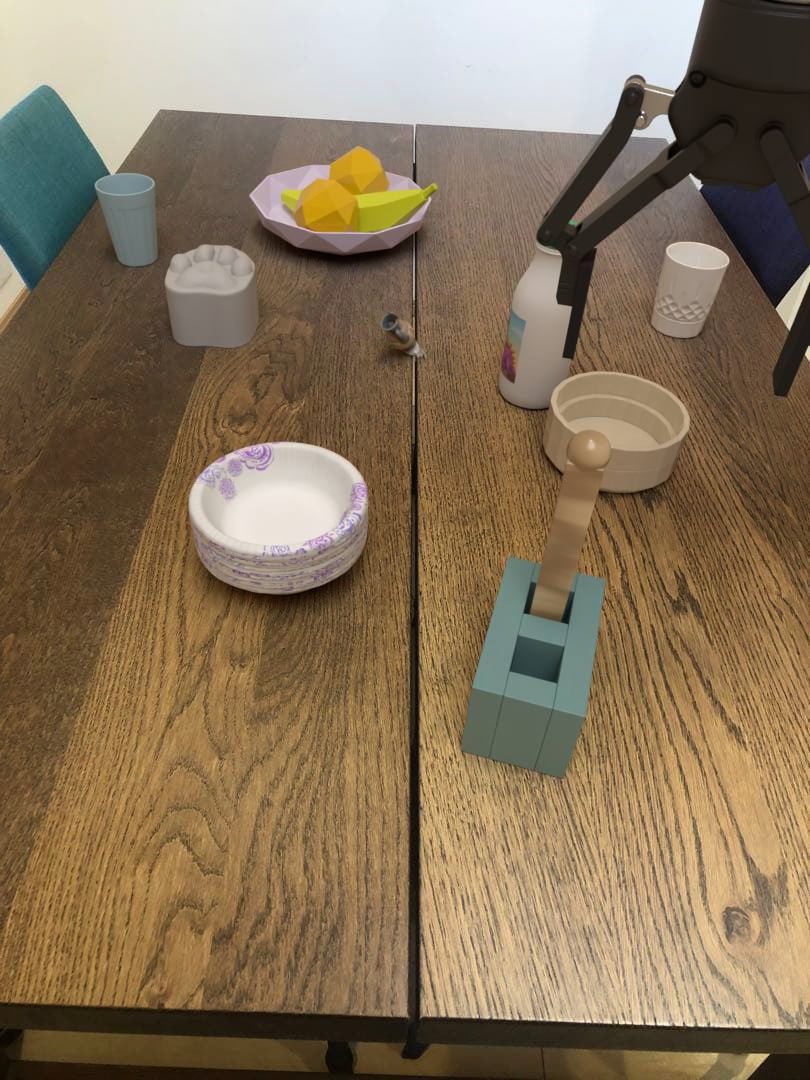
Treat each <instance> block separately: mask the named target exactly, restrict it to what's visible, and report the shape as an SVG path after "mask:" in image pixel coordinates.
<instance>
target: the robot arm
mask: <svg viewBox="0 0 810 1080" xmlns="http://www.w3.org/2000/svg"><path fill="white" fill-rule="evenodd" d="M685 72H686V73H685V74H684V77H683V79H682V80H681V82H680V83H679V84H678V86H677V87H676V89H670V88H669V89H668V88H666V87H665V88H664V87H661V86H657V85H654V84H653V85H652V84H650V83H647V81H646V78H644V76H642V75H640V74H633V75H630V76H629V77H628V78H626V81H625V82H624V84H623V87H622V91H621V94H620V97H619V101H618V104H617V107H616V110H615V113H614V116H613V118H612V119H611V120H610V122H609V123H608V124H607V126H606V127H605V129H604V130H603V131H602V133H601V134H600V136H599V137H598V139H597V140H596V141H595V143H594V144H593V146H592V147H591V148H590V150H589V151H588V152H587V154H586V155H585V157H584V159H583V160H582V161H581V162H580V164H579V165H578V167H577V168H576V170H575V171H574V172H573V174H572V175H571V177H570V178H569V179H568V181H567V183H566V184H565V185H564V187H563V188H562V190H561V191H560V192H559V194H558V195H557V196H556V198H555V199H554V200H553V202H552V204H551V205H550V206H549V208H548V209H547V211H546V212H545V213H544V215H543V217H542V219H541V220H540V223H541V224H540V223H539V225H540V226H539V225H538V227H539V229H538V228H537V232H536V237H535V238H536V241H538V243H539V244H540V245H543V246H551V247H553V248H555V249H556V250H558V251H559V252H560V254H561V256H562V265H561V271H560V276H559V282H558V288H557V293H556V299H557V304H559V305H565V306H571V307H572V310H571V315H570V320H569V325H568V330H567V335H566V340H565V345H564V350H563V355H562V358H567V359H571V360H574V359H575V354H576V351H577V345H578V342H579V338H580V332H581V327H582V323H583V319H584V314H585V309H586V305H587V299H588V295H589V289H590V285H591V282H592V281H591V280H592V275H593V271H594V266H595V261H596V257H597V252H598V248H597V246H598V245H599V244H601V243H602V242H603V241H604V240H605V239H607V238H609V236H611V235H612V234H613V233H614V232H615V231H617V230H618V229H619V228H621V227H622V226H623V225H625V223H627V222H628V221H629V220H631V219H632V218H633V217H634V216H635V215H637V214H638V213H639V212H640V211H642V210H643V209H644V208H645V207H647V206H648V205H649V204H651V203H652V202H653V201H654V200H655V199H657V198H658V197H659V196H661V195H662V194H664V193H665V191H667V190H668V191H669V190H671V189H673V188H674V187H675V186H677V185H678V184H679V183H681V182H682V181H683V180H684V179H686V178H687V177H688V176H690V175H692V176H693V177H694V178H695V179H696V180H698V181H700V185H701V186H702V185H703V186H710V187H720V186H721V187H722V186H729V185H731V186H733V187H735V188H738V189H739V190H742V191H747V192H752V193H753V192H754V193H759V191H760V190H762V189H765V188H768V187H771V186H774V185H775V184H776V185H777V187H778V189H779V191H780V193H781V196H782V198H783V200H784V202H785V204H786V206H787V207H788V209H789V211H790V213H791V216H792V217H793V219H794V221H795V224H796V226H797V229H798V230H799V232H800V235H801V237H802V239H803V241H804V243H805V246H806V248H807V249H808V252H809V253H810V180H809V178H808V174H807V172H806V170H805V166H804V165H803V161H805V160H806V158H808V157H809V156H810V0H703V5H702V8H701V13H700V16H699V21H698V24H697V28H696V31H695V37H694V41H693V44H692V47H691V53H690V57H689V61H688V64H687V68H686V71H685ZM662 115H664V116H665V115H666V116H667V120H668V123H669V126H670V128H671V131H672V133H673V135H674V138H675V140H673V141H672V142H671V143H670V144H669V145H667V146H666V147H665V148H664V149H663V150H661V152H660V153H659V154H658V155H656V158H655V159H654V160H652V161H651V162H650V163H649V164H647V166H645V167H644V168H643V169H642V170H640V171H639V172H638V173H637V174H636V175H635V176H634V177H632V178H631V179H629V180H628V181H627V182H626V183H624V185H623V186H621V187H620V188H619V189H617V190H616V191H615V192H614V193H612V195H610V197H608V198H607V199H606V200H605V201H603V202H602V203H601V204H600V205H599V206H597V207H596V208H595V209H594V210H593V211H590V213H589V214H587V216H585V217H584V218H583V219H582V220H581V221H579V222H577V223H578V224H577V225H576V226H575V225H574V224H573V225H571V224H569V221H570V220H571V221H572V219H573V218H574V216H575V215H576V214H577V212H578V211H579V210H580V208H581V207H582V206H583V204H584V203H585V201H586V200H587V198H588V197H589V196H590V194H592V192H593V190H594V189H595V188H596V187H597V185H598V184H599V182H600V181H601V180H602V178H603V177H604V176H605V174H606V173H607V172H608V170H609V169H610V167H611V166H612V165H613V164H614V162H615V161H616V160H617V158H618V157H619V155H620V154H621V153H622V151H623V150H624V148H625V147H626V145H627V144H628V142H629V140H630V138H631V136H632V135H633V132H634V130H636V131H644V130H646V129H647V128H648V127H650V125H651V124H652V122H653V120H654V119H655V118H657V117H658V116H662ZM809 347H810V281H809V282H808V284H807V287H806V289H805V292H804V295H803V297H802V299H801V302H800V305H799V307H798V309H797V312H796V314H795V316H794V318H793V321H792V323H791V326H790V328H789V331H788V333H787V336H786V339H785V341H784V343H783V346H782V348H781V350H780V353H779V355H778V358H777V360H776V363H775V364H774V368H773V370H772V373H771V375H772V377H771V378H772V387H773V396H774V397H781V398H787V397H788V395H789V392H790V390H791V388H792V386H793V383H794V381H795V378H796V377H797V373H798V371H799V370H800V367H801V365H802V363H803V360H804V359H805V355H806V353H807V351H808V349H809Z"/></svg>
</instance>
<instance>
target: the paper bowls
mask: <svg viewBox="0 0 810 1080" xmlns="http://www.w3.org/2000/svg"><path fill="white" fill-rule="evenodd" d="M368 492H369V491H368V487H367V483H366V480H365V479H364V477H363V476H362V474H361V473H360V471H359V470H358V469H357V467H356V466H354V465H353V464H352V463H351V462H350V461H349V460H348V459H346V458H345V457H343V456H342V455H340V454H338V453H336V452H335V451H331V450H329V449H327V448H325V447H322V446H318V445H314V444H311V443H310V444H309V443H302V442H294V441H271V442H263V443H258V444H254V445H250V446H245V447H243V448H239V449H236V450H233V451H232V452H230V453H228V454H225V455H223V456H222V457H219V458H218V459H215V461H213V462H212V463H211V464H209V466H207V467H206V468H205V469H204V470H203V471H202V472H200V474H199V476H198V477H197V478H196V480H195V481H194V483H193V484H192V487H191V489H190V491H189V496H188V503H187V505H188V507H187V508H188V513H189V519H190V526H191V530H192V534H193V542H194V546H195V549H196V553H197V555H198V557H199V560H200V562H201V563H202V564H203V566H204V567H205V568H206V570H208V572H209V573H211V575H213V577H215V578H217V579H218V580H220V581H221V582H224V583H226V584H228V585H230V586H232V587H235V588H238V589H241V590H245V591H248V592H251V593H257V594H268V595H281V596H282V595H294V594H298V593H302V592H305V591H309V590H312V589H315V588H318V587H320V586H323V585H325V584H327V583H329V582H331V581H333V580H336V579H337V578H338V577H340V576H342V575H343V574H345V573H346V572H347V571H348V570H350V569H351V568H352V567H353V565H355V563H356V562H357V560H358V559H359V558H360V557H361V554H362V553H363V550H364V548H365V545H366V542H367V538H368V527H369V504H370V503H369V502H370V501H369V493H368Z"/></svg>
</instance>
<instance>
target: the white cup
mask: <svg viewBox="0 0 810 1080" xmlns="http://www.w3.org/2000/svg"><path fill="white" fill-rule="evenodd" d="M730 262H731V261H730V257H729V255H727V253H725V252H724V251H723V250H721V249H719V248H717V247H715V246H712V245H710V244H705V243H701V242H696V241H678V242H673V243H671V244H670V245H668V246H667V247H666V249H665V253H664V257H663V261H662V265H661V269H660V270H661V271H660V274H659V278H658V282H657V288H656V292H655V296H654V302H653V304H654V305H653V309H652V312H651V316H650V325H651V326H652V327H653V329H654V330H655V331H657V332H659V333H660V334H662V335H665V336H667V337H670V338H671V337H672V338H676V339H690V338H693V337H697V336H698V335H699V334H700V333H701V332H702V330H703V328H704V325H705V322H706V320H707V317H708V315H709V313H710V311H711V310H712V307H713V304H714V302H715V300H716V297H717V295H718V292H719V289H720V287H721V284H722V282H723V280H724V278H725V274H726V272H727V269H728V267H729V265H730Z"/></svg>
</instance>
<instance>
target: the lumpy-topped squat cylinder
mask: <svg viewBox="0 0 810 1080" xmlns="http://www.w3.org/2000/svg"><path fill="white" fill-rule="evenodd" d="M257 286H258V285H257V272H256V264H255V262H254V261H253V260H252V259H251V257H249V255H247V253H245V252H243V251H242V250H240V249H238V248H235V247H233V246H232V245H227V244H225V245H221V244H219V245H218V244H215V245H214V244H205V243H204V244H201V245H199V246H198V247H197V248H194V249H191V250H188V251H186V252H184V253H176V254H175V255H173V256H172V257H171V260H170V262H169V266H168V268H167V271H166V274H165V278H164V289H165V295H166V302H167V307H168V315H169V321H170V327H171V333H172V338H173V340H174V341H175V342H176V343H178V344H180V345H182V346H185V347H214V348H222V349H236V348H241V347H242V346H246V345H247V344H248V343H250V342H251V341H252V340H253V339H254V337H255V334H256V332H257V330H258V327H259V323H260V311H259V299H258V298H259V297H258V287H257Z"/></svg>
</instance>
